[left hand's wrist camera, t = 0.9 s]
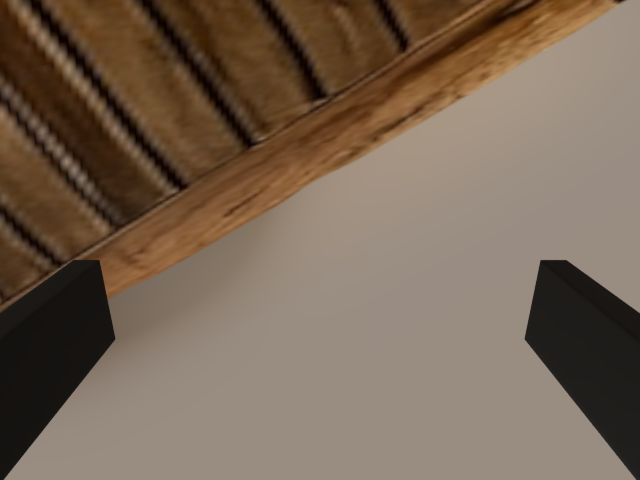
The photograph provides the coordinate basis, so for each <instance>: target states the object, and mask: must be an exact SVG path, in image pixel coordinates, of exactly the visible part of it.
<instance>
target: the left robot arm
mask: <svg viewBox="0 0 640 480" xmlns="http://www.w3.org/2000/svg"><path fill="white" fill-rule="evenodd" d="M114 340H115V335H114V330H113V325H112V320H111V315H110V310H109V305H108V300H107V295H106V290H105V285H104V281H103V276H102V271H101V266H100V261H99V260H73V261H72V262H70V263H69V264H68V265H66V266H65V267H63V268H62V269H61V270H59V271H58V272H57V273H55V274H54V275H52V276H51V277H50V278H48V279H47V280H46V281H44V282H43V283H41V284H40V285H39V286H37V287H36V288H34V289H33V290H32V291H30V292H29V293H28V294H26V295H25V296H23V297H22V298H21V299H19V300H18V301H17V302H15V303H14V304H12V305H11V306H10V307H8V308H7V309H5V310H4V311H3V312H1V313H0V480H4V479H5V477H6V476H7V475H8V473H9V472H10V471H11V470H12V468H13V467H14V466H15V465H16V463H17V462H18V461H19V460H20V458H21V457H22V456H23V455H24V453H25V452H26V451H27V450H28V448H29V447H30V446H31V445H32V443H33V442H34V441H35V440H36V438H37V437H38V436H39V435H40V433H41V432H42V431H43V430H44V428H45V427H46V426H47V424H48V423H49V422H50V421H51V419H52V418H53V417H54V416H55V414H56V413H57V412H58V411H59V409H60V408H61V407H62V406H63V404H64V403H65V402H66V401H67V399H68V398H69V397H70V396H71V394H72V393H73V392H74V391H75V389H76V388H77V387H78V386H79V384H80V383H81V382H82V380H83V379H84V378H85V377H86V375H87V374H88V373H89V372H90V370H91V369H92V368H93V367H94V365H95V364H96V363H97V362H98V360H99V359H100V358H101V357H102V355H103V354H104V353H105V352H106V350H107V349H108V348H109V346H110V345H111V344H112V343H113V341H114ZM525 340H526V341H527V343H528V344H529V345H530V347H531V348H532V349H533V350H534V352H535V353H536V354H537V355H538V357H539V358H540V359H541V360H542V362H543V363H544V364H545V365H546V367H547V368H548V369H549V370H550V372H551V373H552V374H553V375H554V377H555V378H556V379H557V380H558V382H559V383H560V384H561V386H562V387H563V388H564V389H565V391H566V392H567V393H568V394H569V396H570V397H571V398H572V399H573V401H574V402H575V403H576V404H577V406H578V407H579V408H580V409H581V411H582V412H583V413H584V414H585V416H586V417H587V418H588V419H589V421H590V422H591V423H592V425H593V426H594V427H595V428H596V429H597V431H598V432H599V433H600V435H601V436H602V437H603V438H604V440H605V441H606V442H607V443H608V445H609V446H610V447H611V448H612V450H613V451H614V452H615V453H616V455H617V456H618V457H619V458H620V460H621V461H622V462H623V463H624V465H625V466H626V467H627V469H628V470H629V471H630V472H631V473H632V475H633V476H634V477H635V478H636V480H640V313H639V312H637V311H636V310H635V309H633V308H632V307H630V306H629V305H628V304H626V303H625V302H623V301H622V300H621V299H619V298H618V297H617V296H615V295H614V294H612V293H611V292H610V291H608V290H607V289H606V288H604V287H603V286H601V285H600V284H599V283H597V282H596V281H594V280H593V279H592V278H590V277H589V276H588V275H586V274H585V273H583V272H582V271H580V270H579V269H578V268H577V267H575V266H574V265H572V264H571V263H570V262H568V261H567V260H541V261H540V266H539V271H538V276H537V281H536V285H535V290H534V295H533V300H532V305H531V310H530V315H529V320H528V325H527V330H526V335H525Z"/></svg>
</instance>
